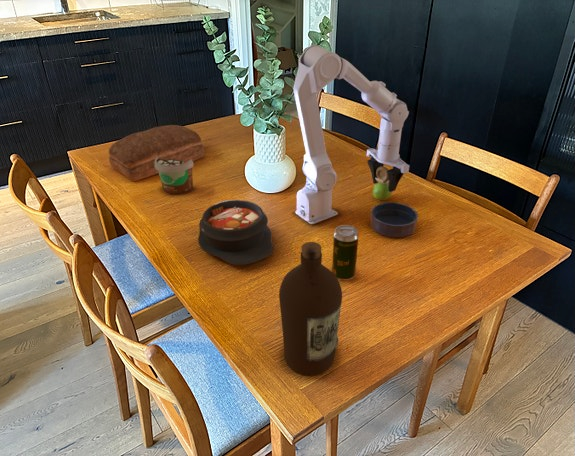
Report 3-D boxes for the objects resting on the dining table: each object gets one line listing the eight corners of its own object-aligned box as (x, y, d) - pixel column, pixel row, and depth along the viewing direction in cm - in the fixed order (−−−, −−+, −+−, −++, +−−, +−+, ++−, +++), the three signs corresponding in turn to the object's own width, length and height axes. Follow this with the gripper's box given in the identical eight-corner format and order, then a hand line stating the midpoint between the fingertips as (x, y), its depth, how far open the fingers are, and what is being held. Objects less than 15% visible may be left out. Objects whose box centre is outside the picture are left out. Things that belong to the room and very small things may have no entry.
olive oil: (270, 351, 87) (264, 242, 73) (314, 327, 92) (316, 221, 78) (303, 389, 79) (304, 276, 66) (349, 361, 84) (359, 251, 71)
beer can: (352, 266, 108) (355, 223, 102) (357, 280, 104) (361, 237, 97) (329, 267, 108) (331, 225, 101) (334, 282, 103) (336, 238, 97)
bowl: (392, 244, 116) (394, 231, 113) (360, 223, 124) (361, 210, 122) (425, 229, 121) (427, 216, 119) (392, 210, 130) (394, 198, 127)
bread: (108, 168, 156) (100, 136, 149) (182, 144, 172) (178, 114, 166) (132, 184, 145) (124, 151, 139) (208, 157, 162) (205, 126, 156)
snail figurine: (388, 206, 131) (392, 168, 125) (368, 200, 135) (371, 162, 128) (396, 199, 135) (401, 161, 128) (377, 193, 138) (380, 156, 132)
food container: (151, 194, 140) (145, 164, 134) (161, 185, 145) (155, 155, 139) (189, 198, 137) (184, 168, 132) (197, 188, 142) (193, 159, 137)
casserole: (184, 229, 123) (179, 202, 118) (246, 211, 130) (245, 184, 126) (221, 281, 104) (217, 251, 100) (291, 255, 112) (291, 226, 108)
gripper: (419, 147, 122) (412, 192, 129) (381, 131, 132) (376, 173, 139) (400, 153, 118) (394, 199, 126) (362, 136, 128) (359, 180, 136)
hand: (384, 186), depth 132 cm, fingers closed on snail figurine, 6 cm apart
